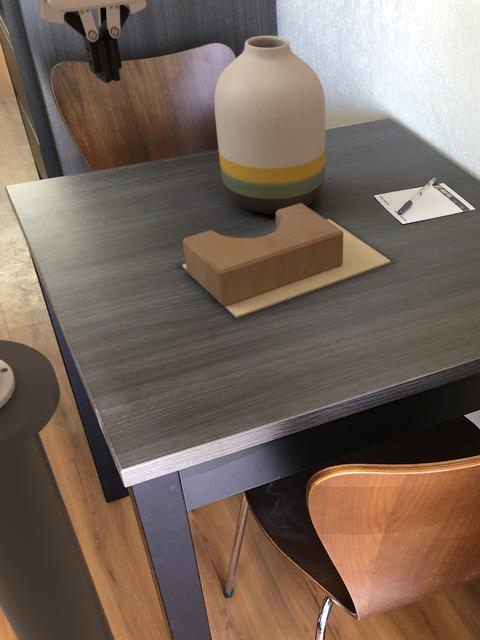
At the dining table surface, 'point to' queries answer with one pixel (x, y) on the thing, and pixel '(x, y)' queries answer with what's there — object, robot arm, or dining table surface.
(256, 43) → the vase
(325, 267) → the decorative block
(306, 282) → the felt mat
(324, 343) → the dining table surface
